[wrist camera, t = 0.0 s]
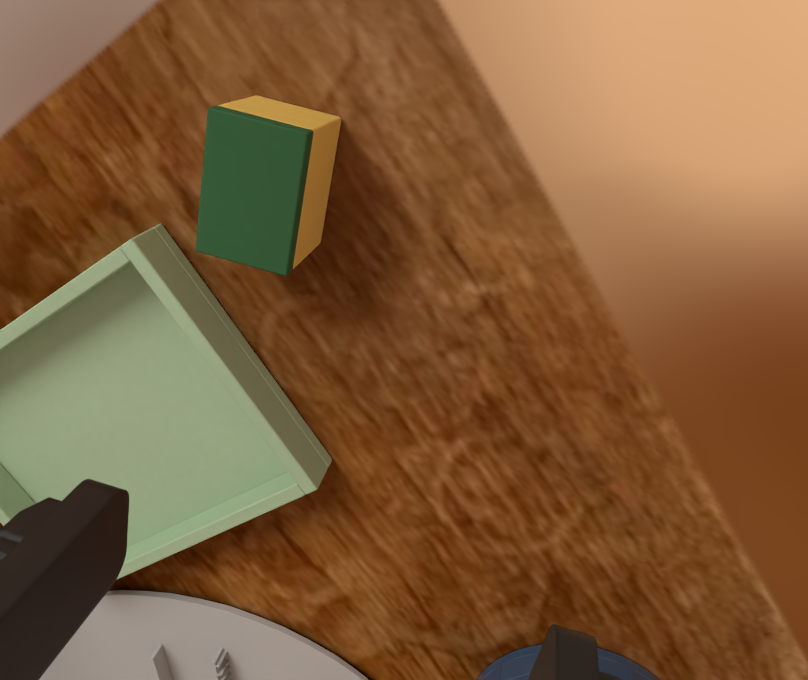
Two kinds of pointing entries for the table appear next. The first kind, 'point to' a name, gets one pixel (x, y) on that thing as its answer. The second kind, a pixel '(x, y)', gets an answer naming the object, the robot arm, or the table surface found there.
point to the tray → (148, 404)
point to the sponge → (265, 182)
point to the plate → (188, 644)
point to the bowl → (514, 668)
